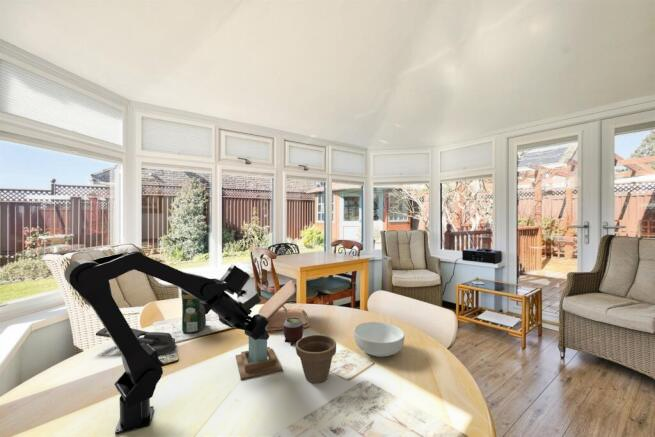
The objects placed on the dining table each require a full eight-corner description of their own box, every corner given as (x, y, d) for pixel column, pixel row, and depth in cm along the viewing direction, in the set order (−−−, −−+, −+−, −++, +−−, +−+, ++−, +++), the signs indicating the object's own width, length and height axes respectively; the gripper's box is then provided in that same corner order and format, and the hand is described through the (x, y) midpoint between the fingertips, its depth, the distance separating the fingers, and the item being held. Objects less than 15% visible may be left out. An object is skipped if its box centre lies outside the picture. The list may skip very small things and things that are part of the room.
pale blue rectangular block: (256, 366, 89) (256, 323, 88) (248, 361, 91) (248, 320, 91) (267, 360, 92) (267, 319, 91) (259, 356, 94) (259, 316, 94)
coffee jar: (188, 324, 123) (187, 280, 122) (208, 323, 123) (207, 279, 123) (178, 334, 113) (177, 286, 112) (199, 333, 114) (199, 285, 113)
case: (259, 314, 135) (258, 279, 134) (304, 311, 138) (304, 277, 138) (256, 333, 114) (256, 293, 114) (310, 329, 118) (310, 290, 117)
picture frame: (282, 370, 87) (282, 362, 87) (240, 380, 83) (240, 371, 83) (272, 350, 100) (272, 342, 100) (235, 357, 96) (235, 349, 96)
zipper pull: (113, 322, 107) (178, 325, 105) (114, 340, 108) (179, 343, 106) (92, 333, 99) (162, 335, 96) (92, 352, 99) (163, 355, 97)
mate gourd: (304, 337, 110) (304, 298, 109) (300, 347, 102) (300, 305, 101) (284, 337, 110) (284, 297, 110) (279, 346, 103) (279, 304, 102)
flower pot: (299, 392, 77) (299, 354, 77) (293, 369, 88) (292, 336, 88) (341, 385, 80) (341, 349, 80) (329, 364, 91) (329, 332, 91)
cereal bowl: (381, 370, 88) (381, 347, 87) (343, 350, 100) (343, 329, 100) (414, 352, 98) (414, 332, 98) (376, 336, 111) (376, 317, 111)
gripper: (262, 289, 81) (293, 318, 89) (227, 278, 93) (257, 304, 102) (237, 325, 75) (272, 352, 84) (203, 309, 88) (236, 334, 96)
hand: (259, 333), depth 92 cm, fingers open, 9 cm apart
